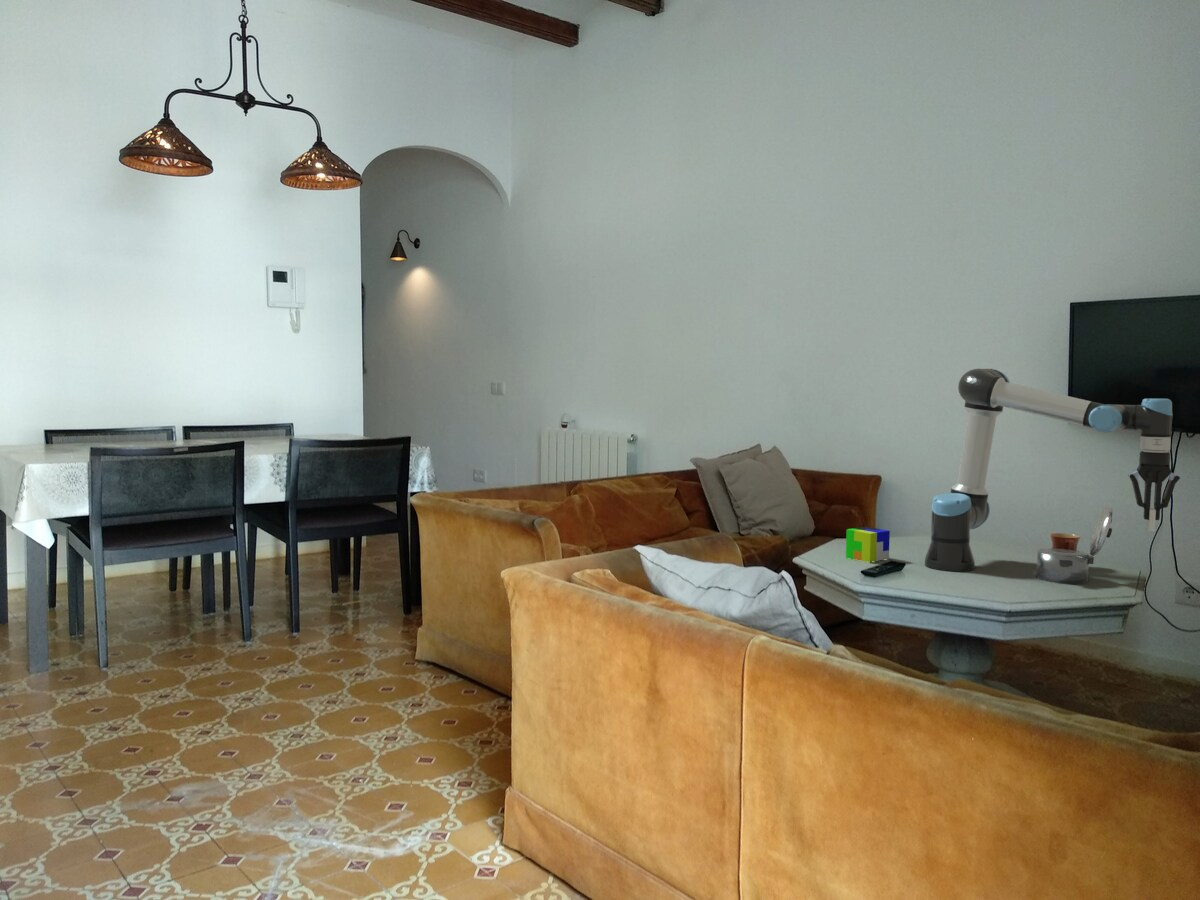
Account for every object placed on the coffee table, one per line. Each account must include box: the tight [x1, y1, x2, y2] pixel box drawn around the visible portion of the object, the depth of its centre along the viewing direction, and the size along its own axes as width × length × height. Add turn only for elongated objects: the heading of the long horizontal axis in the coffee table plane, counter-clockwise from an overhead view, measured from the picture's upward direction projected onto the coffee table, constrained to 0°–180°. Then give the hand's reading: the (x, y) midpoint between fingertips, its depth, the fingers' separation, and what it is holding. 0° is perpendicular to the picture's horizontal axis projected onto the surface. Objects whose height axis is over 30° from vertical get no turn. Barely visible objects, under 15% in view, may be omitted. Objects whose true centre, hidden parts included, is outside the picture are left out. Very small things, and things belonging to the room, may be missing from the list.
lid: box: [1089, 505, 1113, 557], centre depth 260 cm, size 15×15×3 cm
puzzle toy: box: [845, 526, 891, 562], centre depth 295 cm, size 10×10×10 cm
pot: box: [1035, 548, 1095, 585], centre depth 265 cm, size 15×19×8 cm
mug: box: [1049, 532, 1081, 551], centre depth 281 cm, size 12×9×10 cm
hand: (1150, 530), depth 256 cm, fingers closed
